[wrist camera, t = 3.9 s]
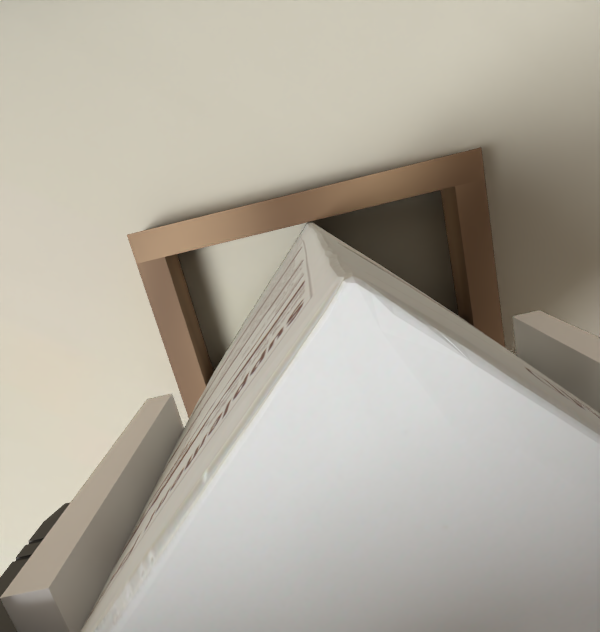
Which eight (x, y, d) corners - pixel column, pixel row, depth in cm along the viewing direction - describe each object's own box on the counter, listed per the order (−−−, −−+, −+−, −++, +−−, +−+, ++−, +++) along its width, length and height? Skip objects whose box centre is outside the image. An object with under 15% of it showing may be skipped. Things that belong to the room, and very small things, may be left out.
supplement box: (465, 318, 17) (901, 618, 5) (356, 457, 19) (476, 953, 6) (308, 212, 16) (356, 251, 4) (207, 369, 17) (2, 767, 5)
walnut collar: (463, 152, 15) (481, 147, 14) (501, 443, 18) (518, 463, 17) (142, 231, 16) (127, 234, 15) (230, 500, 19) (224, 525, 18)
